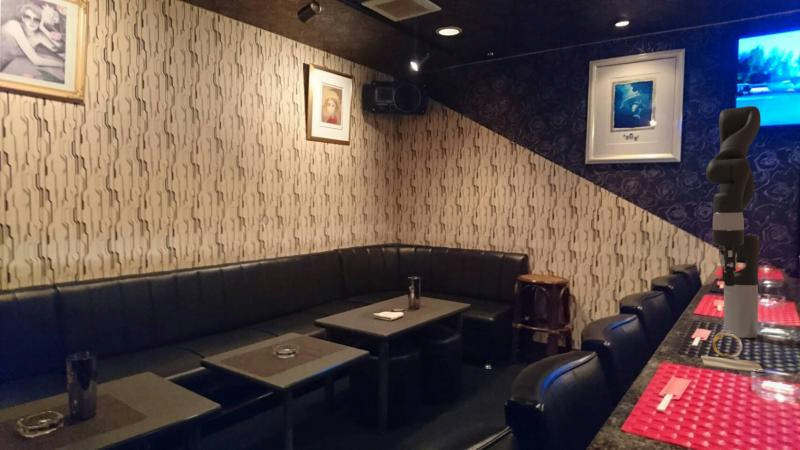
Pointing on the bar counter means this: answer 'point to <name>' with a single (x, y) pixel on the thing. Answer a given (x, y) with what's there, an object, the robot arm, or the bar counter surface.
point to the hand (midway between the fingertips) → (728, 283)
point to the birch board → (730, 363)
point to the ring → (727, 333)
